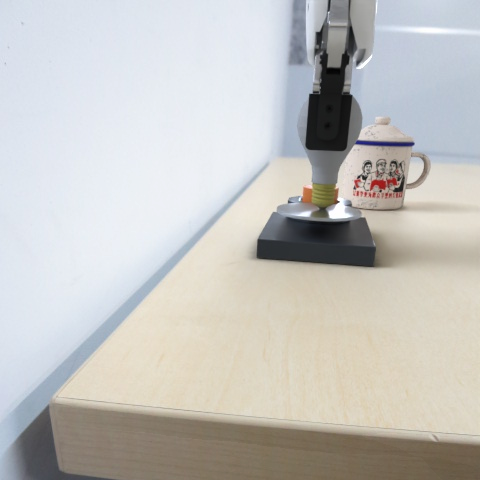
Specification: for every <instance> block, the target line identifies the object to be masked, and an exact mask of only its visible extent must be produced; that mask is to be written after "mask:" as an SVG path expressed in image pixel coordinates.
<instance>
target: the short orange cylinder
mask: <svg viewBox="0 0 480 480" xmlns="http://www.w3.org/2000/svg"><path fill="white" fill-rule="evenodd" d="M312 189H313V187H312V184H305V185H303V187H302V196H303V198H302V202H312V197H313V196H312V193H313V192H312ZM335 189H336V190H335V191H334V192H335V195H334V196H335V198H334V201H335V202H334V204H337V201H338V198H339V192H340V191H339V190H340V188H339V186H336V187H335Z"/></svg>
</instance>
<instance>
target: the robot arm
mask: <svg viewBox="0 0 480 480" xmlns="http://www.w3.org/2000/svg"><path fill="white" fill-rule="evenodd" d="M377 10H378V0H305V44H306V45H305V46H306V57H307V62H308V64H309V65H310V66H311V67H312V68H314V70H313V80H312V93H309V94H308V97H309V103H308V116H307V129H306V142H305V146H306V148H307V149H308V150H320V151H344V150H346V148H347V143H348V134H349V124H350V115H351V106H352V96H353V94H351V87H352V77H353V64H354V63H353V62H355V69H362V68H363V67H364V66H365V65H366V64H367V63H368V62H369V61H370V60H371V58H372V57H373V53H374V46H375V45H374V43H375V33H376V21H377V20H376V19H377ZM319 91H320V94H319ZM342 91H343V94H342ZM314 93H315V94H314ZM345 94H351V95H345ZM353 97H354V96H353Z"/></svg>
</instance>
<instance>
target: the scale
mask: <svg viewBox="0 0 480 480" xmlns="http://www.w3.org/2000/svg"><path fill="white" fill-rule="evenodd" d="M302 198H303V195H296V196H291V197H288V199H287V204H288V203H300V202H302ZM337 205H344V206H349V207H352V202H351V201H349V200H346V199H343V198H342V197H338V201H337ZM352 208H353V207H352ZM376 251H377V246H376V243H375V241H374V238H373V234H372V232H371V229H370V227H369V224H368V221H367V218H366V217H365V216H363V217H362V216H361V217H360V218H358V219H355V220H350V221H337V222H326V221H310V220H301V219H295V218H290V217H286V216H283V215H281V214H279V213H278V212H277V211H272V213H271V214H270V216H269V218H268V219H267V221H266V224H265V226H264V227H263V228H262V231H261V232H260V234H259V235H258V237H257V240H256V258H257V259H267V260H279V261H280V260H281V261H292V262H293V261H295V262H307V263H308V262H309V263H322V264H334V265H348V266H363V267H374V265H375V260H376V259H375V258H376Z"/></svg>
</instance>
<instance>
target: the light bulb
mask: <svg viewBox="0 0 480 480" xmlns="http://www.w3.org/2000/svg"><path fill="white" fill-rule="evenodd" d="M313 94H315V93H313ZM319 94H320V91H319ZM342 94H343V91H342ZM345 95H352V94H351V93H350V94H345ZM308 103H309V96H308V97H307V98H306V100H305V101H303V103H302V105H301V107H300V110H299V113H298V115H297V116H298V117H297V122H296V123H297V124H296V127H297V135H298V138H299V141H300V143H301V145H302V148H303V150H304V152H305V154H306V156H307V158H308V161H309V163H310V166H311V183H312V184H311V185H312V187H313V189H312V192H313V193H312V196H313V197H312V203H313V204H314V205H316V206H318V207H319V209H326V208H327V207H328V206H331V205H333V204H334V202H335V201H334V198H335V196H334V195H335V192H334V191H335V190H336V189H335V187H337V184H338V178H339V172H340V169H341V166H342V165H343V163H344V161H346V157H347V155H348V154H349V152H350V151H351V149H352V148H353V146H354V145H355V143H356V141H357V139H358V138H359V135H360V132H361V130H362V129H363V119H364V117H363V113H362V109H361V105H360V104H359V102H358V100H357V99H356V97H354V96H352V106H351V115H350V124H349V134H348V143H347V148H346V150H344V151H320V150H308V149H307V148H306V146H305V142H306V129H307V116H308Z"/></svg>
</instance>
